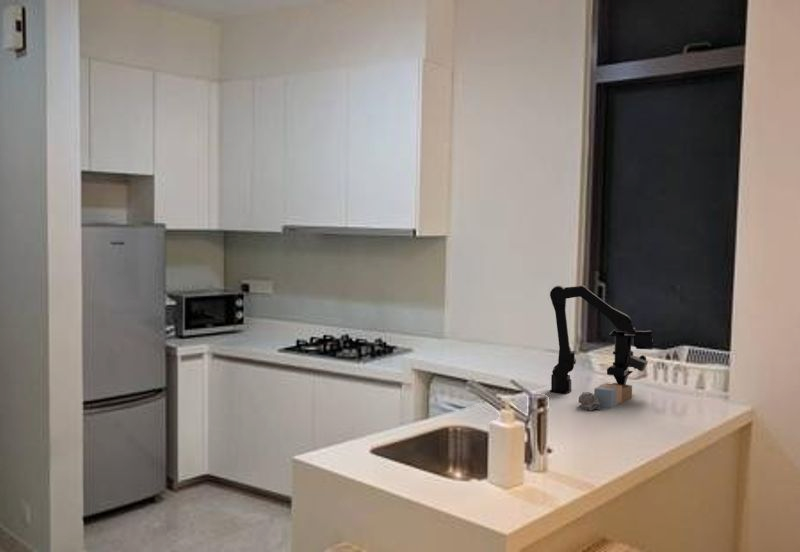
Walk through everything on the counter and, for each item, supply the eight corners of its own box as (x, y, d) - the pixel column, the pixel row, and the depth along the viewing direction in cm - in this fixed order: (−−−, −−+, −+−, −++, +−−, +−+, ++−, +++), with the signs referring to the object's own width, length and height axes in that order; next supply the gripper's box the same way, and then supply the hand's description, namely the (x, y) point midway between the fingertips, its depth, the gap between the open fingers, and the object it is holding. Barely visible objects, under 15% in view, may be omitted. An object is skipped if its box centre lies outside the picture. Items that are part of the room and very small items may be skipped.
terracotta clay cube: (599, 402, 253) (599, 385, 252) (605, 399, 256) (606, 383, 256) (615, 404, 249) (615, 387, 248) (621, 402, 252) (622, 385, 252)
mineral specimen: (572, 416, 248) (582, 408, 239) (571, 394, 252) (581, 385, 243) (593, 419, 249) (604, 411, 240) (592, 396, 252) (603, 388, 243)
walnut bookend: (601, 399, 258) (602, 386, 257) (613, 394, 264) (614, 382, 264) (620, 402, 253) (620, 389, 253) (631, 397, 259) (632, 385, 259)
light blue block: (594, 405, 248) (594, 388, 247) (599, 402, 252) (599, 385, 252) (611, 408, 244) (611, 390, 244) (616, 405, 248) (616, 388, 248)
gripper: (638, 354, 251) (637, 398, 252) (651, 346, 266) (651, 388, 267) (606, 351, 257) (606, 394, 258) (621, 344, 272) (621, 384, 273)
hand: (622, 390), depth 264 cm, fingers closed
